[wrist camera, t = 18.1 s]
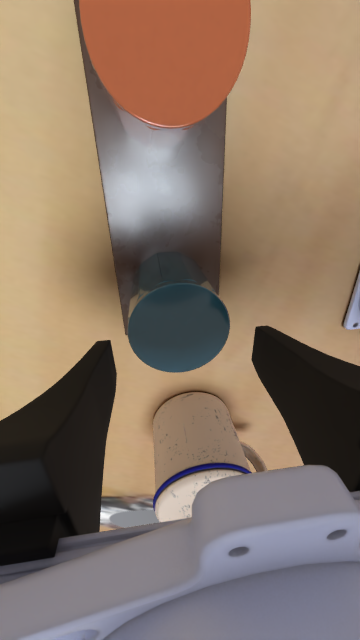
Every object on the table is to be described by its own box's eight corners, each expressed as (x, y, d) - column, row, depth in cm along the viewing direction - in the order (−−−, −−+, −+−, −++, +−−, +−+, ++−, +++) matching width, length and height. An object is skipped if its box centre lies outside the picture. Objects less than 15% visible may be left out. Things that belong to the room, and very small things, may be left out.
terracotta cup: (208, 19, 14) (260, -115, 8) (206, 148, 16) (244, 127, 10) (98, 17, 13) (58, -130, 7) (115, 150, 16) (96, 129, 10)
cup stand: (225, 3, 14) (277, -113, 9) (214, 320, 24) (236, 363, 18) (76, -1, 14) (29, -131, 8) (126, 328, 23) (120, 375, 17)
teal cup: (205, 248, 19) (233, 279, 13) (204, 316, 22) (227, 367, 16) (128, 253, 19) (120, 287, 13) (136, 322, 21) (133, 377, 15)
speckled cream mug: (140, 439, 30) (139, 572, 20) (166, 381, 26) (180, 506, 16) (231, 452, 33) (270, 571, 23) (265, 401, 30) (329, 516, 19)
